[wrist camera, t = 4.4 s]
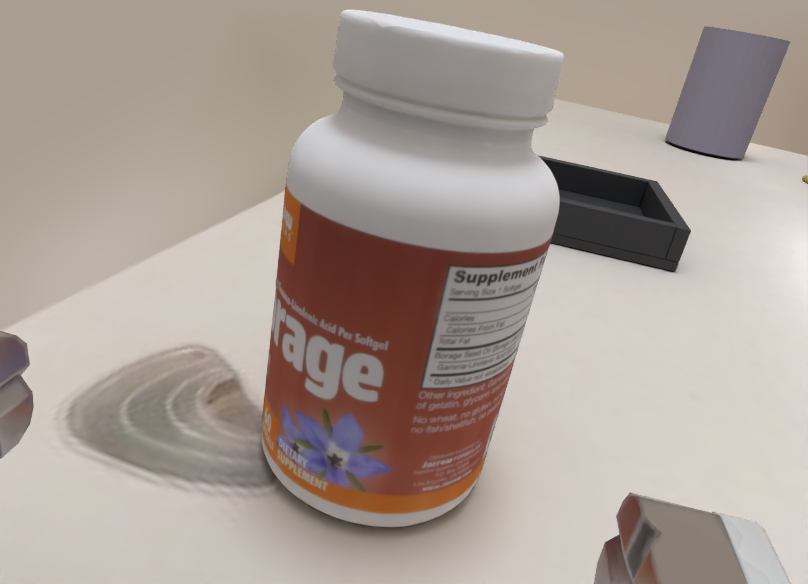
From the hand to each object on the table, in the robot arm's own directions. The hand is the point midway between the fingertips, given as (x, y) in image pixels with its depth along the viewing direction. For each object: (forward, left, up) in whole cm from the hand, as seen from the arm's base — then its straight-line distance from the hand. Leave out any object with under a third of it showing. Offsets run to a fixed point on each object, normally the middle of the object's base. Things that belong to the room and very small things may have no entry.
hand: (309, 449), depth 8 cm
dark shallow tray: (+6, +37, -6) cm, 37 cm away
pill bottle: (0, +8, -6) cm, 10 cm away
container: (+26, +88, -6) cm, 91 cm away
